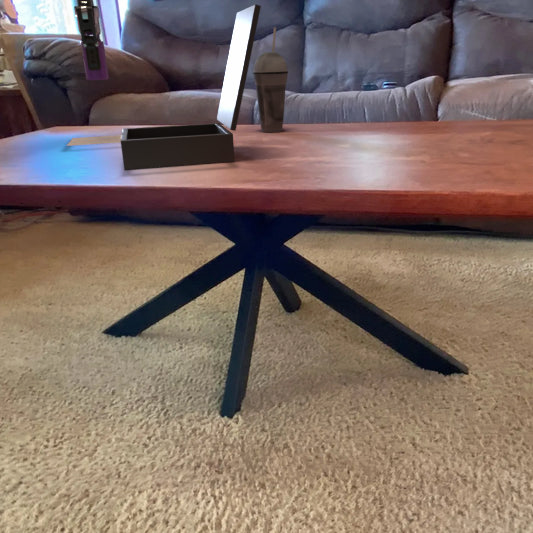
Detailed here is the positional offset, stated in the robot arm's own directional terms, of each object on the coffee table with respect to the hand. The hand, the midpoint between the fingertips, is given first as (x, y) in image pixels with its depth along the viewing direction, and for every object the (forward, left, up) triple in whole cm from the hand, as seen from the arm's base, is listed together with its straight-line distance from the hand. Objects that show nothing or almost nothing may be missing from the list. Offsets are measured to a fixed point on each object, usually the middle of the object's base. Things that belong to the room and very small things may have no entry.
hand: (95, 69), depth 95 cm
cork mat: (0, 0, -13) cm, 13 cm away
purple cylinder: (0, 0, -2) cm, 2 cm away
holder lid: (+21, -26, 0) cm, 34 cm away
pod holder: (+12, -26, -13) cm, 32 cm away
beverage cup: (+34, +2, -14) cm, 37 cm away
